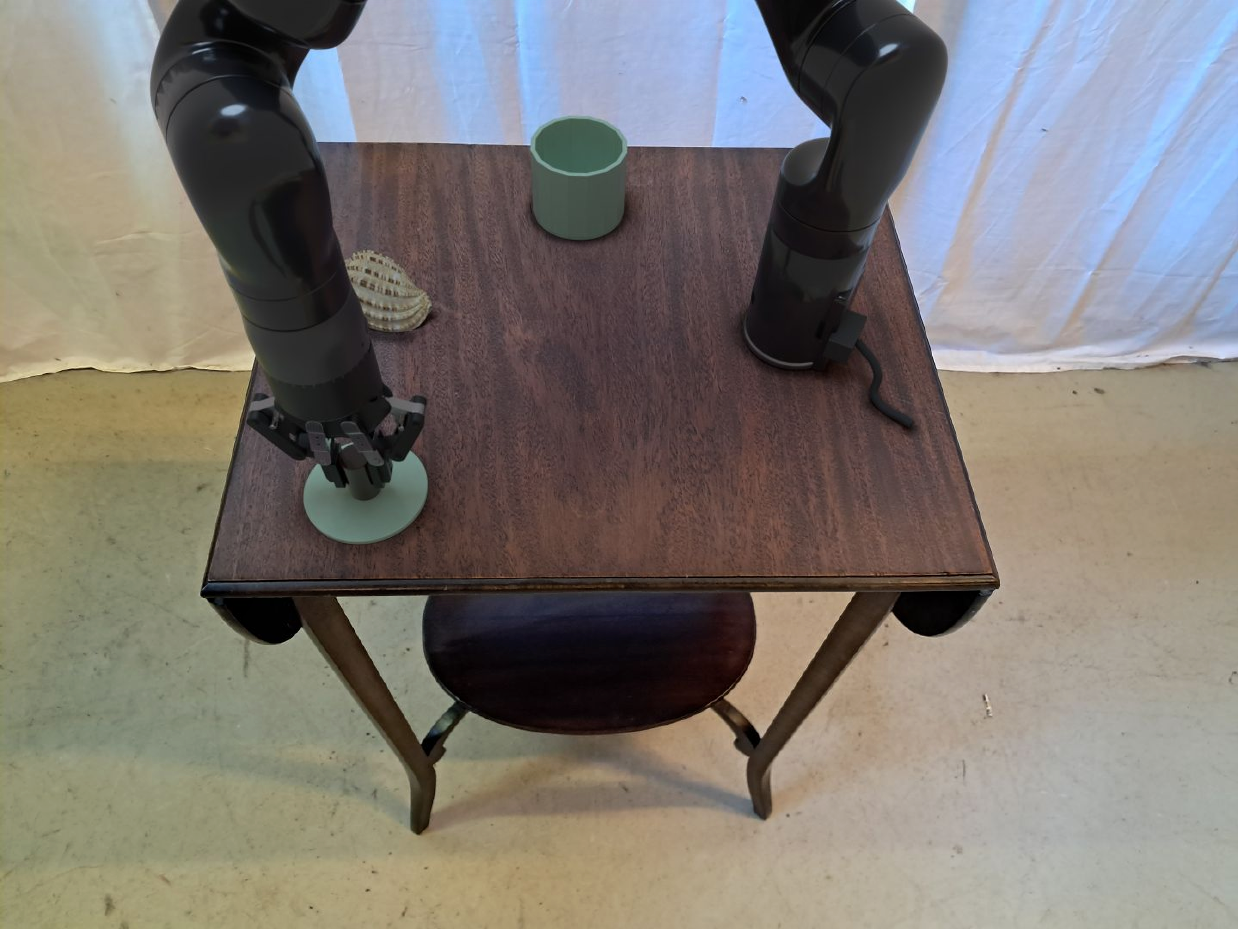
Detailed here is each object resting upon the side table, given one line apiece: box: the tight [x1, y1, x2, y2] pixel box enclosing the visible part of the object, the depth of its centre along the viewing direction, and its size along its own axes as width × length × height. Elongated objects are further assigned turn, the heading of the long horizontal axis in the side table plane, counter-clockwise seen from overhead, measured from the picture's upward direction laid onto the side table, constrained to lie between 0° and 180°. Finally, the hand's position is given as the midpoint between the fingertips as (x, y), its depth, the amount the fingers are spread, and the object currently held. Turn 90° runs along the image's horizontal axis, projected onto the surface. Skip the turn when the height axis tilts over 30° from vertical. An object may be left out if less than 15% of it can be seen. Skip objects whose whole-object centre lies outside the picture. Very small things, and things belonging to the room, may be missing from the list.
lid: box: [302, 441, 429, 545], centre depth 74 cm, size 10×10×6 cm
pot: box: [529, 115, 628, 241], centre depth 95 cm, size 10×10×8 cm
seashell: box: [344, 249, 434, 333], centre depth 87 cm, size 8×6×10 cm
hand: (362, 478), depth 74 cm, fingers closed on lid, 2 cm apart
